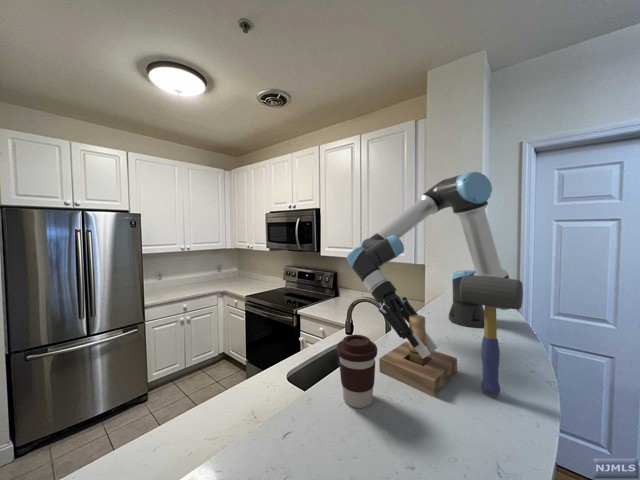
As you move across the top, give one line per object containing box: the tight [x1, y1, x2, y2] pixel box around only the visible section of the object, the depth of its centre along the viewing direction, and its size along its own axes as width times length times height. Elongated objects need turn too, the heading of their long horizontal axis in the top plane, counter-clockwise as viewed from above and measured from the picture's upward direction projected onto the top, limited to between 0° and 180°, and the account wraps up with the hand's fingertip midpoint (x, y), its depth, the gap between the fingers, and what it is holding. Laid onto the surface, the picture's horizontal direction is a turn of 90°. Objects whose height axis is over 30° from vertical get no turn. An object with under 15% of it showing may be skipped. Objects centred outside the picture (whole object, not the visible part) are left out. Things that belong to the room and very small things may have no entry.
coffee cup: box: [336, 334, 378, 409], centre depth 62 cm, size 10×10×15 cm
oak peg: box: [408, 314, 426, 366], centre depth 73 cm, size 5×5×14 cm
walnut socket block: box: [378, 341, 458, 398], centre depth 74 cm, size 16×16×4 cm
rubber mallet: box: [460, 275, 524, 398], centre depth 62 cm, size 12×8×30 cm, turn 45°
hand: (430, 352), depth 71 cm, fingers closed on oak peg, 4 cm apart
